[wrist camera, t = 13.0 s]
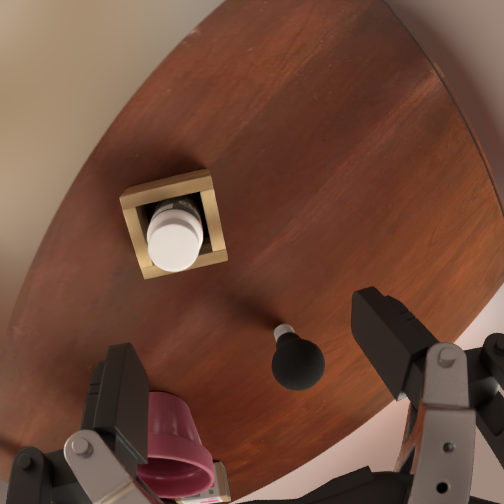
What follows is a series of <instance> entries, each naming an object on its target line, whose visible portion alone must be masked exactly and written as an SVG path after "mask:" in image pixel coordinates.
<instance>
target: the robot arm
mask: <svg viewBox="0 0 504 504" xmlns="http://www.w3.org/2000/svg"><path fill="white" fill-rule="evenodd" d="M351 329H352V333H353V336H354V338H355V340H356V342H357V343H358V345H359V346H360V347H361V349H362V350H363V352H364V353H365V355H366V356H367V358H368V359H369V361H370V362H371V364H372V365H373V367H374V368H375V369H376V371H377V372H378V374H379V375H380V377H381V378H382V380H383V381H384V383H385V384H386V386H387V387H388V389H389V390H390V392H391V393H392V395H393V396H394V398H395V399H396V401H399V400H401V399H403V398H406V397H408V399H409V400H410V401H411V402H410V405H409V409H408V416H407V421H406V427H405V432H404V437H403V442H402V447H401V451H400V454H399V457H398V459H397V462H396V465H395V468H394V471H393V472H392V471H384V472H371V470H370V468H369V466H366V467H363V468H361V469H358V470H356V471H353V472H350V473H348V474H345V475H342V476H340V477H337V478H334V479H332V480H330V481H329V482H327V483H326V484H324V485H322V486H320V487H319V488H317V489H315V490H314V491H312V492H310V493H308V494H306V495H304V496H303V497H300V498H298V499H289V500H288V499H287V500H253V501H248V502H242V503H237V504H499V503H495V502H492V501H488V500H484V499H480V498H477V497H473V496H470V489H471V481H472V472H473V462H474V448H475V426H477V427H478V429H479V430H480V432H481V433H482V435H483V436H484V438H485V439H486V441H487V443H488V444H489V446H490V447H491V449H492V451H493V452H494V454H495V455H496V457H497V459H498V460H499V462H500V463H501V465H502V467H503V469H504V397H503V396H502V395H501V394H500V392H499V391H498V390H499V388H500V387H501V388H502V389H503V390H504V334H502V333H493V334H491V335H489V336H488V337H487V338H486V339H485V342H484V344H483V347H480V348H475V349H469V350H462V349H461V348H460V347H459V346H457V345H455V344H453V343H448V342H441V343H440V342H439V341H438V340H437V339H436V338H435V337H434V336H433V335H432V334H431V333H430V331H429V330H428V329H427V328H426V327H425V326H424V325H423V324H422V323H421V322H420V321H419V320H418V319H417V318H415V316H414V315H413V314H412V313H411V312H409V310H408V309H407V308H406V307H405V306H404V305H403V304H402V303H401V302H400V301H399V300H397V299H395V298H393V297H391V296H389V295H388V296H385V297H384V296H383V295H382V294H381V293H380V292H379V291H378V290H377V289H376V288H375V287H373V286H371V287H368V288H365V289H361V290H358V291H355V292H354V293H353V295H352V314H351ZM148 411H149V380H148V376H147V373H146V371H145V369H144V367H143V365H142V363H141V361H140V360H139V358H138V356H137V354H136V352H135V350H134V348H133V346H132V344H131V343H124V344H118V345H112V346H110V347H109V349H108V353H107V357H106V361H101V362H99V364H98V365H97V367H96V368H95V370H94V371H93V373H92V376H91V381H90V386H89V389H88V396H87V398H86V403H85V408H84V412H83V417H82V423H81V428H80V431H78V432H76V433H74V434H73V435H71V436H70V437H69V439H68V440H67V442H66V443H65V446H64V449H61V450H58V451H54V452H51V453H48V454H43V453H42V452H41V451H40V450H38V449H37V448H35V447H31V446H30V447H25V448H22V449H21V450H20V451H18V452H17V454H16V455H15V457H14V459H13V462H12V467H11V473H10V479H9V485H8V492H7V500H6V504H165V503H164V502H163V501H162V500H161V499H160V498H159V497H158V496H157V495H156V494H155V493H154V492H153V491H152V490H151V489H150V487H149V486H148V485H147V484H146V483H145V482H144V481H143V480H142V479H141V478H140V476H139V475H138V474H137V464H148ZM51 502H52V503H51Z"/></svg>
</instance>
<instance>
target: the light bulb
mask: <svg viewBox="0 0 504 504" xmlns="http://www.w3.org/2000/svg"><path fill="white" fill-rule="evenodd" d="M274 337H275V339H276V348H277V351H276V352H275V354H274V356H273V359H272V371H273V375H274V377H275V379H276V380H277V381H278V382H279V383H280V384H281V385H282V386H284V387H285V388H287V389H291V390H296V391H299V390H305V389H308V388H310V387H312V386H313V385H315V384H316V383H317V382H318V381H319V380H320V378H321V377H322V375H323V372H324V367H325V360H324V356H323V354H322V352H321V350H320V349H319V348H318V347H317V346H316V345H315V344H314V343H312V342H310V341H308V340H304V339H301V338H300V337H299V336H298V335H297V334H296V333H295V332H294V331H293V329H292V327H291V326H290V325H288V324H282V325H279V326H278V327H277V328H276V329H275V330H274Z"/></svg>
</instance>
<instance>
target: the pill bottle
mask: <svg viewBox="0 0 504 504" xmlns="http://www.w3.org/2000/svg"><path fill="white" fill-rule="evenodd" d="M202 241H203V230H202V223H201V214H200V210H199V208H198V206H197V204H196V203H195V202H194V201H193V200H192V199H191V198H189V197H187V196H185V195H181V196H177V197H173V198H169V199H165V200H161V201H160V202H159V203H158V205H157V206H156V208H155V211H154V213H153V216H152V219H151V222H150V225H149V227H148V232H147V242H148V253H149V256H150V258H151V260H152V261H153V263H154V264H155V265H156V266H158V267H159V268H161V269H163V270H165V271H170V272H177V271H182V270H185V269H186V268H188V267H190V266H191V265H192V264H193V263H194V262H195V260H196V258H197V256H198V253H199V250H200V248H201V245H202Z"/></svg>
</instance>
